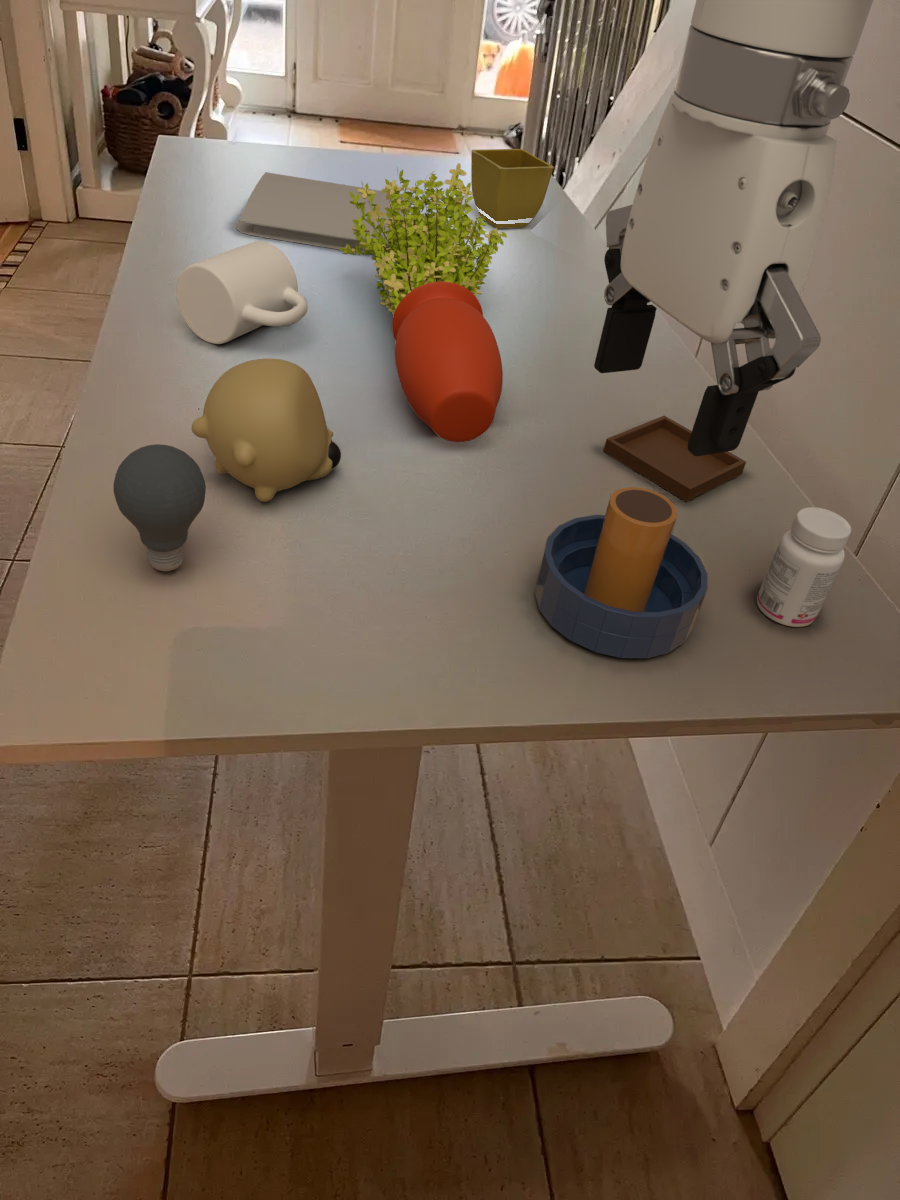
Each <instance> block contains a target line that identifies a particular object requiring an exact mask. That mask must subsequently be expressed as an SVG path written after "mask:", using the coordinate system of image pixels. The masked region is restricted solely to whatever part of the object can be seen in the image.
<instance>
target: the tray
mask: <svg viewBox="0 0 900 1200" xmlns="http://www.w3.org/2000/svg"><path fill="white" fill-rule="evenodd" d="M691 432H692V429H689V428H687V427H685V426H684V425H682V424H680V423H678V422H677V421H675V420H673V419H671V418H669V417H668V416H666V415H662V416H659V417H657V418H654V419H652V420H648V421H647V422H644V423H642V424H640V425H637V426H633V427H632V428H629V429H627V430H624V431H622V432H620V433H617V434H615V435H612V436H610V437H607V438H606V439H605V443H604V447H603V452H604V453H605V454H607V455H609V456H610V457H612V458H613V459H615V460H617V461H618V462H620V463H622V464H623V465H625V466H626V467H628V468H630V469H632V470H633V471H635V472H636V473H637V474H640V475H641V476H643V477H645V478H646V479H648V480H650V481H651V482H653V483H654V484H656V485H657V486H659V487H661V488H662V489H664V490H666V491H667V492H668V493H670V494H671V495H674V496H675V497H676V498H678V499H681V500H682V501H684V502H686V503H687V502H689V501H691V500H693V499H695V498H698V497H699V496H702V495H703V494H705V493H707V492H709V491H712V490H713V489H715V488H717V487H719V486H721V485H722V484H725V483H727V482H729V481H731V480H733V479H735V478H737V477H739V476H741V475H742V474H743V472H744V470H745V467H746V464H747V461H746V460H744V459H742V458H741V457H739V456H737V455H736V454H734V453H732V452H731V451H728V452H722V453H715V454H709V455H702V456H694V455H693V454H692V453H691V452H689V450H688V442H689V438H690V435H691Z"/></svg>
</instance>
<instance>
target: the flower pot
mask: <svg viewBox="0 0 900 1200" xmlns="http://www.w3.org/2000/svg"><path fill="white" fill-rule="evenodd" d="M470 157H471V159H470V160H471V165H470V168H471V170H470V172H471V173H470V174H471V175H470V176H471V177H470V179H471V181H470V182H471V192H472V193H473V195H472V196H473V197H474V198H473V201H474V205H475V207H476V206H477V207H478V208H479V209H481V210H482V211H484V212H485V213H486V214H488V215H489V216H490V217H491V218H493V219H494V220H495V221H508V220H518V219H526V218H533V219H534V218H535V217H536V216H537V214H538V213H539V211H540V210H541V208H542V206H543V203H544V200H545V198H546V194H547V191H548V188H549V184H550V181H551V178H552V174H553V171H554V166H553V165H552V164H550V163H548V162H546V161H545V160H543V159H542V158H539V157H537V156H535V155H534V154H532V153H531V152H529V151H527V150H525V149H523V148H491V149H487V148H485V149H471V156H470ZM478 216H479V217H480V216H483V217H486V216H484V215H483V214H481V213H480V212H478ZM483 217H480V219H481V218H483ZM483 219H484V221H485V222H487V223H488V224H490V225H491V226H493V227H494V228H497V230H498V229H499V230H501V229H513V228H526V227H527V226H529V224H530V223H515V224H496V223H494V222H493V221H491V220H490V219H488V218H487V217H486V218H483Z"/></svg>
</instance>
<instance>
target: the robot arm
mask: <svg viewBox="0 0 900 1200" xmlns="http://www.w3.org/2000/svg"><path fill="white" fill-rule="evenodd" d="M873 2H874V0H695V4H694V8H693V12H692V16H691V20H690V26H689V28H688V33H687V36H686V40H685V43H684V48H683V51H682V56H681V59H680V64H679V67H678V72H677V76H676V80H675V84H674V88H673V92H672V94H671V95H670V97H669V99H668V102H667V104H666V106H665V109H664V111H663V113H662V116H661V118H660V120H659V122H658V123H659V124H658V126H657V129H656V131H655V133H654V136H653V138H652V139H653V140H652V142H651V145H650V148H649V151H648V154H647V157H646V159H645V163H644V164H643V165H644V166H643V168H642V170H641V171H642V172H641V174H640V178H639V180H638V185H637V188H636V192H635V195H634V198H633V202H632V204H630V205H627V206H623V207H619V208H616V209H611V210H609V211H608V212H607V214H606V217H605V234H606V235H605V236H606V248H608V249H607V250H606V251H605V254H604V262H603V263H604V267H605V271H606V272H605V273H606V276H607V281H608V284H607V285H606V287H605V288H604V291H603V292H604V293H603V294H604V295H603V297H604V302H605V303H606V304H607V306H611V307H607V310H606V314H605V318H604V321H603V326H602V330H601V335H600V339H599V343H598V346H597V351H596V356H595V360H594V364H593V367H594V369H595V370H596V371H597V372H598V373H600V374H609V373H619V372H627V371H637V370H639V369H641V368H642V366H643V362H644V359H645V355H646V351H647V347H648V344H649V340H650V337H651V333H652V330H653V326H654V323H655V319H656V313H657V307H658V308H659V309H660V310H661V311H663V312H665V313H666V314H667V315H669V316H670V317H671V318H673V319H674V320H675V321H676V322H677V323H679V324H681V325H682V326H683V327H685V328H686V329H688V330H689V331H690V332H692V333H693V334H695V335H696V336H698V337H699V338H701V339H703V340H704V341H705V342H708V343H710V346H711V353H712V360H713V365H714V370H715V371H714V372H715V377H716V384H713V385H707V387H706V388H705V389H704V393H703V395H702V399H701V402H700V405H699V408H698V411H697V414H696V417H695V420H694V423H693V427H692V429H691V431H692V432H691V435H690V438H689V442H688V450H689V452H691V453H692V454H693V455H694V456H702V455H709V454H715V453H722V452H732V451H735V450H737V448H738V447H739V446H740V444H741V440H742V438H743V436H744V433H745V431H746V428H747V425H748V422H749V420H750V418H751V417H750V416H751V414H752V411H753V409H754V406H755V403H756V400H757V398H758V397H757V396H758V394H759V393H760V392H763V391H769V390H771V389H772V387H773V386H774V385H776V384H779V383H781V382H783V381H786V380H788V379H790V378H792V377H793V376H794V375H795V372H796V369H797V368H799V367H800V366H801V365H802V364H804V362H805V361H806V360H808V359H809V358H810V357H811V355H813V353H815V352H816V351H817V350H818V349H819V347H820V345H821V343H822V342H821V341H822V340H821V338H822V337H821V334H820V332H819V330H818V328H817V325H815V322H814V321H813V319H812V317H811V314H810V313H809V311H808V309H807V307H806V305H805V304H804V301H803V300H802V298H801V297H802V294H803V292H804V289H805V286H806V281H807V278H808V276H809V272H810V270H811V269H810V268H811V265H812V262H813V258H814V257H815V256H814V255H815V252H816V248H817V245H818V242H819V237H820V234H821V230H822V226H823V222H824V219H825V215H826V214H825V213H826V209H827V205H828V201H829V195H830V191H831V185H832V179H833V174H834V168H835V160H836V152H837V151H836V150H837V141H838V140H836V139H835V138H833V137H831V136H829V135H828V131H829V128H830V125H831V123H832V122H831V121H832V120H834V119H837V118H839V117H840V116H841V115H843V114H844V112H845V110H847V108H848V105H849V102H850V97H851V94H850V90H849V88H848V87H847V86H846V85H845V82H846V79H847V76H848V73H849V70H850V67H851V64H852V62H853V59H854V55H855V54H856V52H857V48H858V45H859V43H860V40H861V37H862V34H863V31H864V28H865V26H866V23H867V20H868V17H869V13H870V11H871V8H872V5H873ZM650 302H651V303H652V304H648V303H650ZM656 306H657V307H656ZM737 324H742V325H743V327H738V328H735V327H736V325H737ZM769 339H773V340H774V342H773V344H772V346H771V347H770V340H769ZM737 345H744V348H745V356H746V360H747V362H746V363H744V364H743V365H741V366H740V363H739V357H738V351H737Z"/></svg>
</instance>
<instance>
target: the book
mask: <svg viewBox="0 0 900 1200" xmlns="http://www.w3.org/2000/svg"><path fill="white" fill-rule="evenodd" d="M358 189H364V187H360V186H355V185H349V184H348V185H347V184H342V183H335V182H329V181H323V180H317V179H310V178H305V177H298V176H292V175H286V174H279V173H273V172H269V171H268V172H267V171H265V172H264V173H263V174H262V175H261V177H260V179H258V181H257V183H256V184H255V186H254V188H253V190H252V192H250V195H249V197H248V199H247V201H246V204H245V206H244V208H243V211H242V212H241V216H240V218H239V220H238V221H237V223H236V224H235V229H236V230H237V231H238V232H240V233H242V234H245V235H248V236H253V237H257V238H258V237H260V238H266V239H272V240H278V241H284V242H289V243H290V242H291V243H297V244H303V245H310V246H315V247H322V248H328V249H334V250H339V248H340V247H343V248H345V249H346V245H347V244H348V245H349V246H350V249H351V247H352V249H355V245H356V247H357V246H358V245H359V244H360V242H362V241H360V242H359V243H356V241H357V239H356V238H355V237H356V235H354V234H353V233H354V232H355V231H354V230H352V228H355V226H354V225H355V223H354V222H353V221H352V220H354V219H355V220H358V218H359V216H360V217H362V216H363V215H362V212H361V208H359V209H360V210H359V209H357V208H356V206H355V205H354V204H351V203H349V202H350V201H353V198H352V197H351V196H350V193H349V192H351V193H353V194H354V195H355V198H356V195H357V194H358V193H359V192H357V190H358ZM370 190H372V191H374V192H375V197H374V199H373V204H379V205H380V211H379V212H384V213H389V212H387V211H386V210H385V208H387V207H388V208H391V207H390V203H391V201H393V199H392V200H391V201H389V200H390V199H389V200H387V199H386V195H387V193H384V192H382V190H379V189H372V188H369V190H368V191H370ZM399 194H400V197H399V198H398V199H400V200H401V199H403V198H401V195H402V194H403V193H399ZM359 195H360V198H359V200H358V201H357V202H358V203H360V202H362V203H364V202H365V205H364V206H365V209H364V212H365V215H366V214H367V213H368V211H370V210H373V209H371V208H374V207H375V206H371V201H370V203H369V201H368V200H367V199H368V198H369V197H370V196H367V197H366V199H363V198H362V195H363V194H362V193H359ZM413 197H415V195H412V197H411V201H410V202H412V198H413ZM404 200H405V201H406V200H408V199H404ZM404 200H403V201H404ZM401 201H402V200H401ZM407 202H408V201H407ZM370 206H371V207H370ZM410 206H411V207H412V205H411V204H410ZM359 207H360V206H359ZM408 208H409V207H407V209H408ZM405 211H406V210H405ZM391 213H392V212H391ZM399 213H400V214H401V215H402V216H403V217H406V216H405V215H404V214H403V213H402V212H401V211H399ZM373 217H374V215H372V216H371V221H372V222H373ZM364 218H365V219H367V216H365V217H364ZM378 218H379V219H381V218H385V219H386V220H385V221H389V218H388V217H387V215H386V216H385V217H380V216H378ZM377 221H378V220H377ZM377 221H376V222H375V223H374V224H375V228H376V227H377V226H378V225H379V224H380V223H381V222H377ZM385 221H384V225H383V226H382V227H383V229H384V226H385V231H389V228H388V227H386V226H389V225H387V224H385ZM390 221H391V220H390ZM364 223H365V226H366V229H367V230H369V232H370V235H372V234H374V232H373V230H375V229H374V228H373V227H372V226H371V225H370V224H368V222H366V221H365V220H363V221H362V224H364ZM378 223H379V224H378ZM359 225H360V224H359ZM360 226H361V225H360ZM376 230H377V232H379V229H376ZM369 232H364V233H365V234H366V233H369ZM383 232H384V231H383ZM383 232H382V233H381V235H382V236H383V237H384V235H383ZM378 234H379V233H378ZM387 235H388V234H386V233H385V236H386V237H387ZM360 237H361V235H360ZM365 238H366V237H364V239H365ZM372 238H377V239H378V237H372V236H370V239H372ZM385 240H386V238H385ZM366 243H367V242H366ZM386 243H387V244H388V242H386ZM388 245H389V244H388ZM388 245H387V246H386V248H387V247H388ZM392 245H393V244H392ZM361 249H363V248H359V250H361ZM361 251H362V252H363V254H364V251H365V249H364V250H361ZM388 253H390V250H388ZM372 256H374V254H373V255H372Z"/></svg>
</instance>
